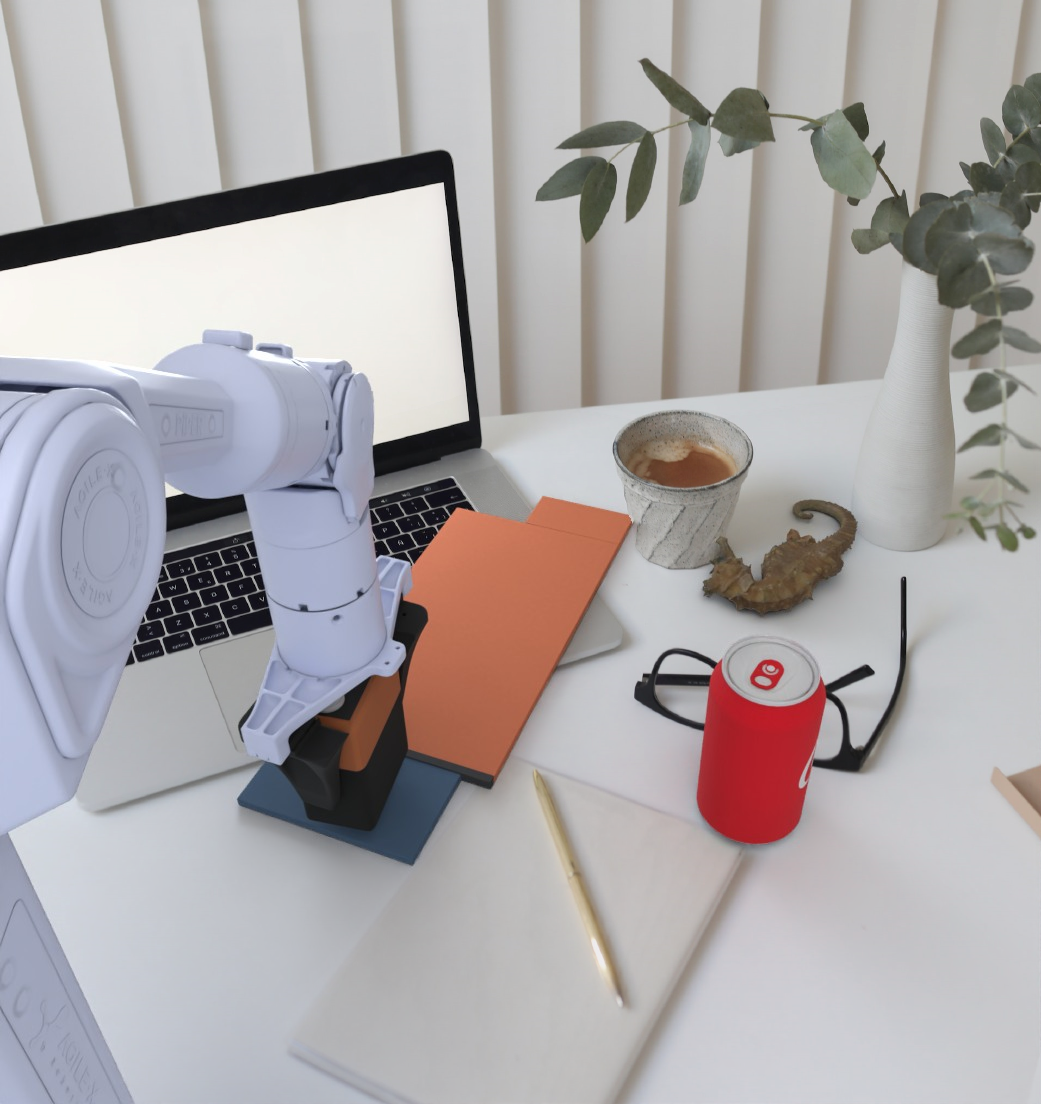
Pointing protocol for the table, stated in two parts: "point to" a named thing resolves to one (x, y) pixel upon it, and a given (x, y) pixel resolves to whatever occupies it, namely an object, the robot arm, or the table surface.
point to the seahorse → (784, 565)
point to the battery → (365, 751)
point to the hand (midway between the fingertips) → (353, 752)
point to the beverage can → (760, 738)
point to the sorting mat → (474, 659)
